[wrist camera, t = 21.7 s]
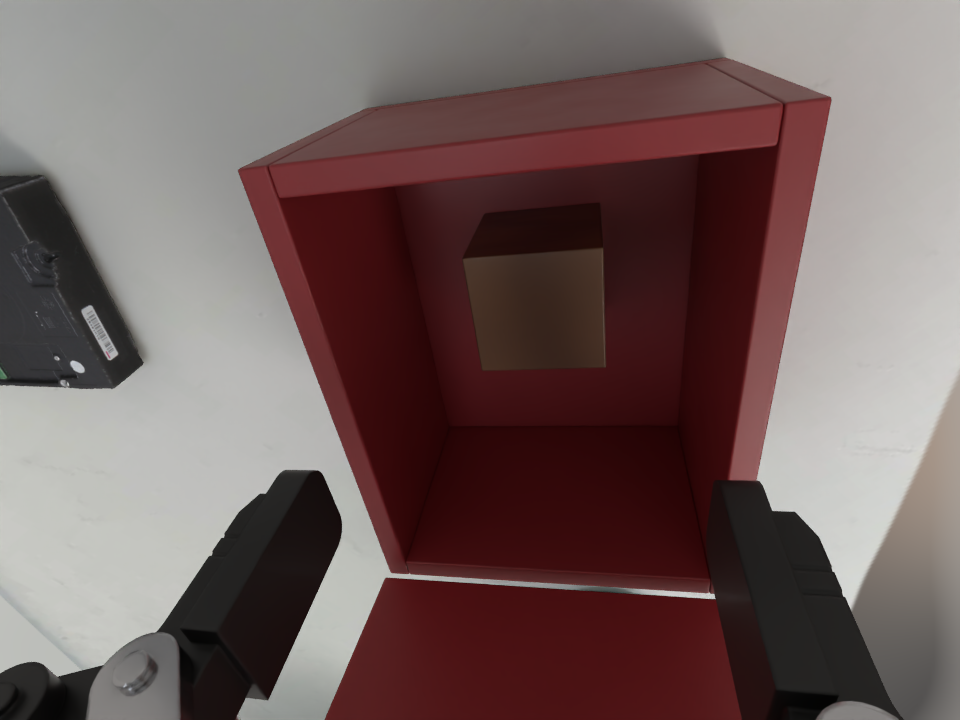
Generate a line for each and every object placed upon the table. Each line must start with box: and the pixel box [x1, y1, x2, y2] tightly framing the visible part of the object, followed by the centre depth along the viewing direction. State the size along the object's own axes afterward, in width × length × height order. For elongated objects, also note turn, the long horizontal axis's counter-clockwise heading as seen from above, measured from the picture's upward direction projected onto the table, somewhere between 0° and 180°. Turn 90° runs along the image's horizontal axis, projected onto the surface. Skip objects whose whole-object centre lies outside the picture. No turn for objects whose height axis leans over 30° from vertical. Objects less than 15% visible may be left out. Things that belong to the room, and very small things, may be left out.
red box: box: [238, 58, 831, 594], centre depth 19 cm, size 16×13×9 cm
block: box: [462, 203, 606, 371], centre depth 19 cm, size 4×4×4 cm
